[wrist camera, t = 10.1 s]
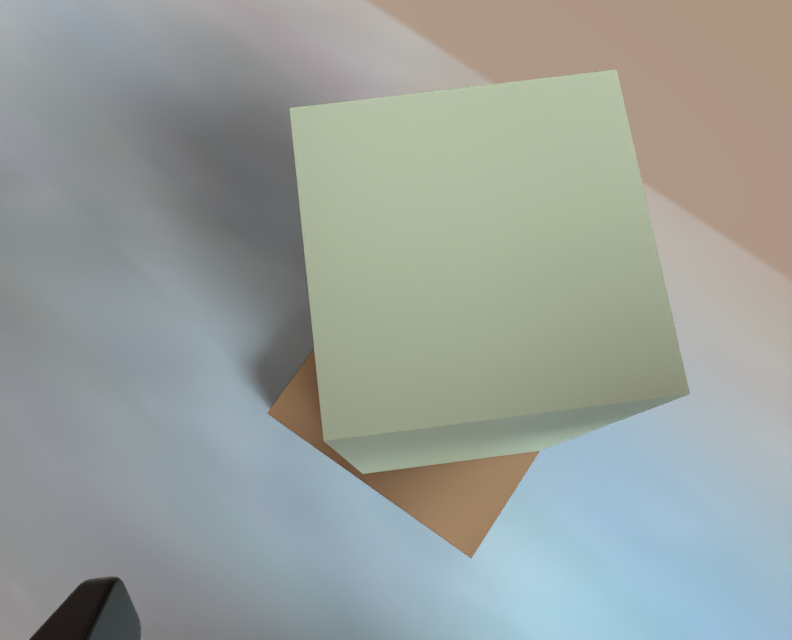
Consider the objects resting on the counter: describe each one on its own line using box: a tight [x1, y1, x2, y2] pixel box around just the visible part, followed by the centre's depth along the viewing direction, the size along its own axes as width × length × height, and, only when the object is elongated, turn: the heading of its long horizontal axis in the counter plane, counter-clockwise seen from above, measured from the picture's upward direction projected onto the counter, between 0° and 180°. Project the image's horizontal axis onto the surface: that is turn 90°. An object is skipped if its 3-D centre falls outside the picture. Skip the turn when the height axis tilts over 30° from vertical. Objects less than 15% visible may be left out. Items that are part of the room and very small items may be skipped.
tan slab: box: [267, 349, 539, 558], centre depth 23 cm, size 7×7×2 cm
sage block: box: [289, 70, 690, 474], centre depth 16 cm, size 5×5×11 cm
